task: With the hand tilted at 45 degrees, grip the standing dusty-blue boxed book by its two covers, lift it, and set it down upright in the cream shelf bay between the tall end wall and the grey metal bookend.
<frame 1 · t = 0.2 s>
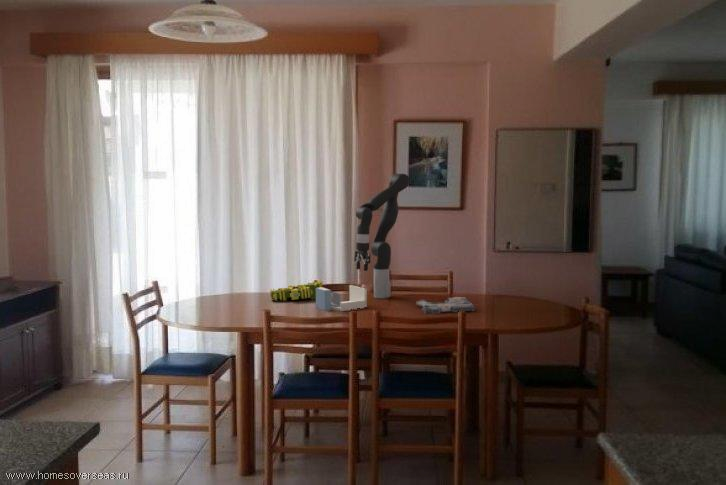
hand: (361, 269, 357), 18 cm above the table, tool pointing down, fingers open, 8 cm apart
book: (323, 308, 336), on the table
futuristic firearm: (443, 310, 333), on the table
shelf: (346, 306, 340), on the table
toy: (296, 300, 363), on the table
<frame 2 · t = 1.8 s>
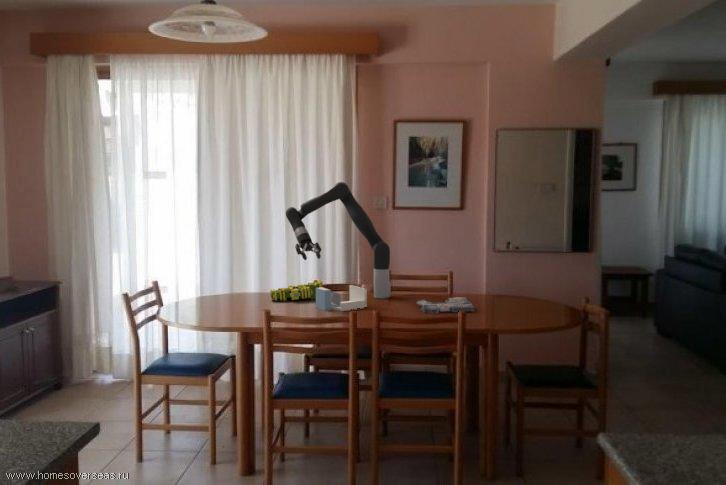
hand: (312, 258, 343), 26 cm above the table, tool tilted 45°, fingers open, 8 cm apart
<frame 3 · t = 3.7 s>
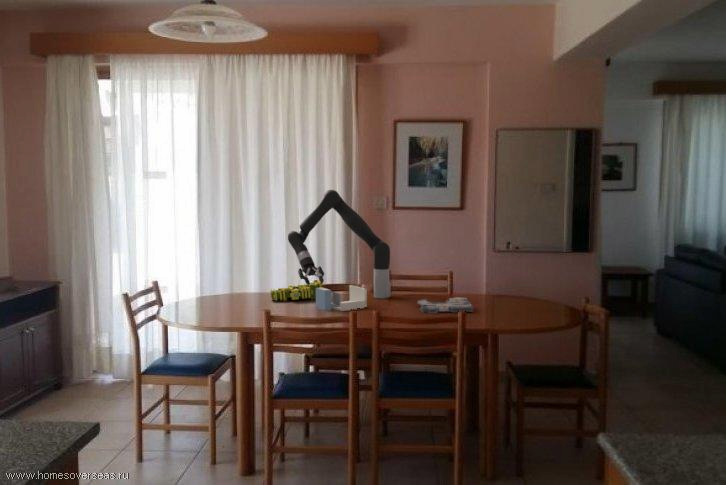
hand: (315, 283, 342), 13 cm above the table, tool tilted 45°, fingers open, 8 cm apart
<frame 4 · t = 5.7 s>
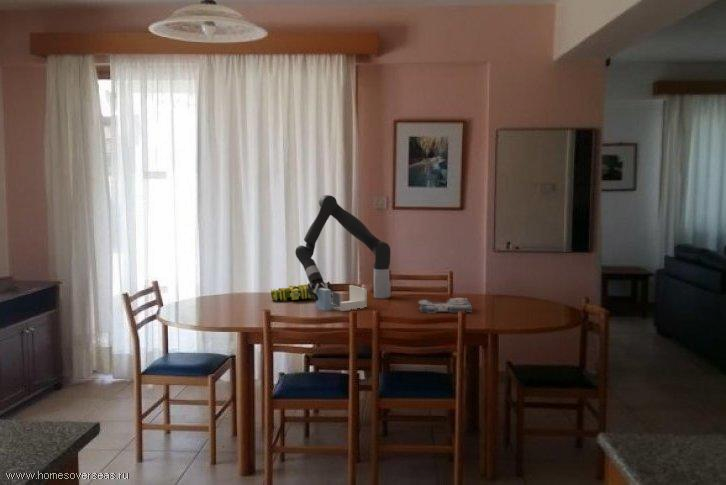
hand: (324, 299, 334), 5 cm above the table, tool tilted 45°, fingers open, 8 cm apart
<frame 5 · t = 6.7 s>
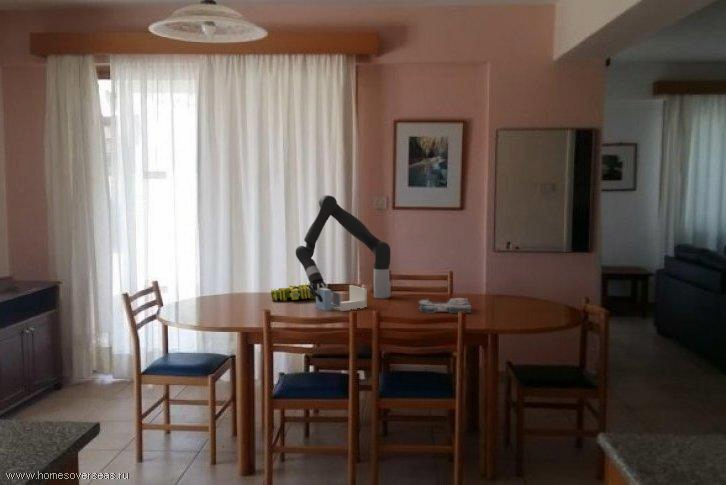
hand: (325, 300, 334), 5 cm above the table, tool tilted 45°, fingers closed on book, 4 cm apart
book: (323, 308, 336), on the table, touching gripper
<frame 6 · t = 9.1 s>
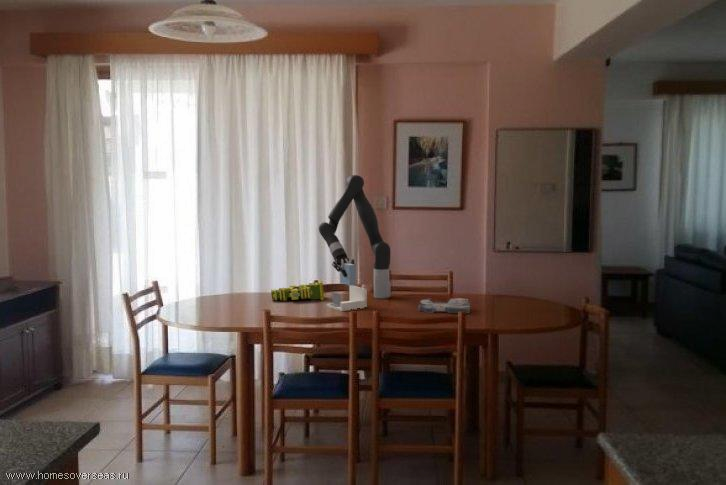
hand: (349, 275, 337), 18 cm above the table, tool tilted 45°, fingers closed on book, 4 cm apart
book: (347, 283, 339), point 13 cm above the table, touching gripper
when the fingers open (7 cm above the table, at t = 11.8 s): book drops 1 cm, resting on shelf.
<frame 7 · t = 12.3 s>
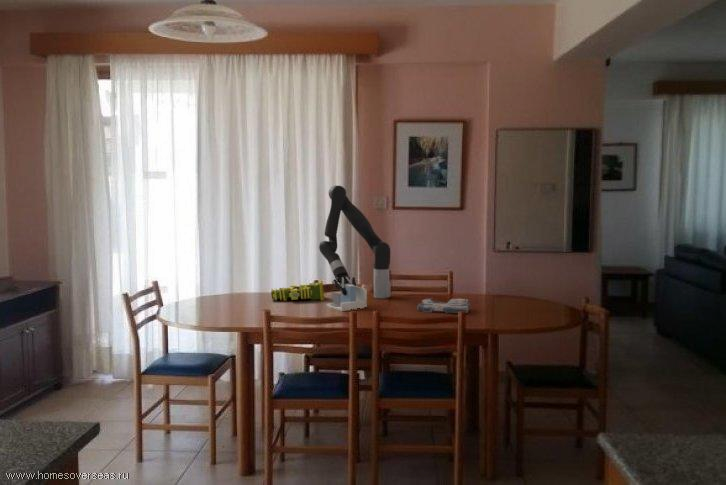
hand: (350, 294, 338), 7 cm above the table, tool tilted 45°, fingers open, 5 cm apart
book: (348, 304, 340), point 1 cm above the table, touching shelf
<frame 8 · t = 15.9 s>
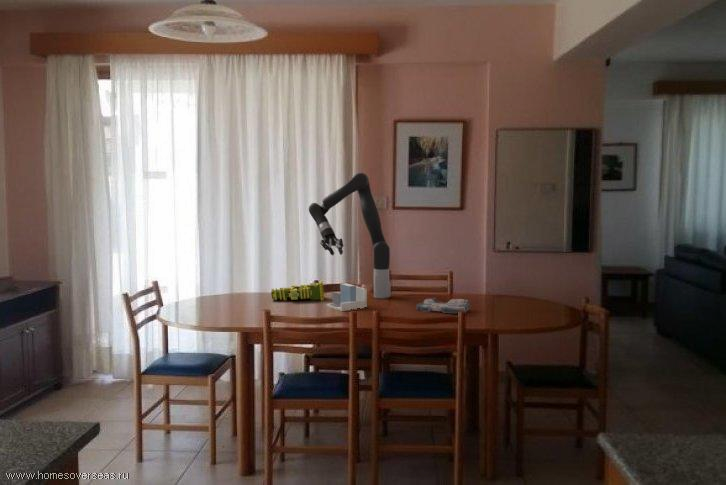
hand: (337, 254, 347), 28 cm above the table, tool tilted 45°, fingers open, 5 cm apart
at the end: book inside the target area (0.3 cm from its centre), point 1.2 cm above the table; book tilted 0°; the gripper is holding nothing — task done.
